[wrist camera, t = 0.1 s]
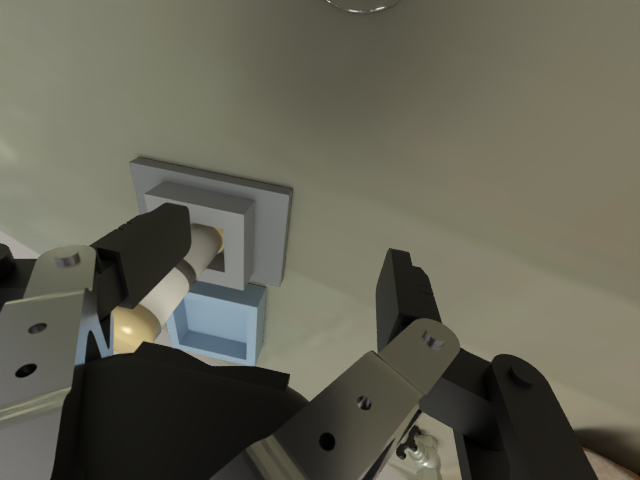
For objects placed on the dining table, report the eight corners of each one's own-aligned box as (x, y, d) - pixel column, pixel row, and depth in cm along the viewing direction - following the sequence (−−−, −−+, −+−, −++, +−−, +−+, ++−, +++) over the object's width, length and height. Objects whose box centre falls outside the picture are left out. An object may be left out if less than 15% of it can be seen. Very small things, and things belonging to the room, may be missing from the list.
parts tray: (175, 267, 38) (158, 285, 35) (266, 287, 37) (257, 307, 34) (185, 328, 45) (171, 347, 42) (262, 346, 44) (254, 367, 41)
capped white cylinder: (190, 209, 31) (80, 308, 19) (230, 217, 31) (142, 322, 19) (194, 242, 33) (97, 348, 22) (230, 250, 33) (152, 361, 21)
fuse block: (139, 157, 30) (105, 173, 26) (292, 189, 29) (280, 209, 26) (157, 251, 37) (133, 274, 33) (283, 278, 36) (272, 305, 32)
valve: (448, 442, 51) (415, 406, 47) (456, 490, 46) (421, 453, 41) (412, 447, 54) (378, 413, 50) (416, 492, 48) (379, 459, 44)
